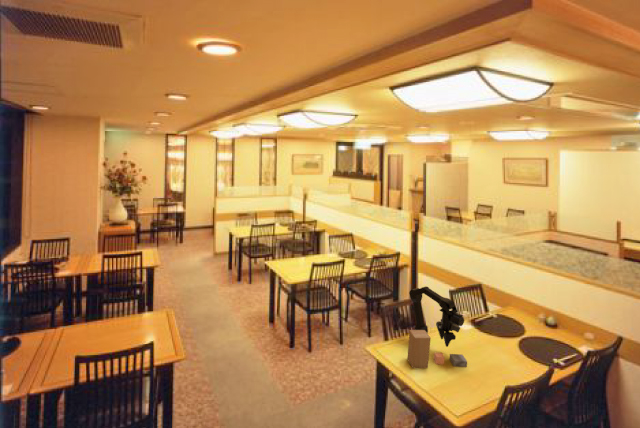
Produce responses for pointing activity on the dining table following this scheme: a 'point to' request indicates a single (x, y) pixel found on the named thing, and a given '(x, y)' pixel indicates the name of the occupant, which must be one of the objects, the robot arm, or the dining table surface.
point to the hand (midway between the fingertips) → (444, 342)
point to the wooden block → (418, 348)
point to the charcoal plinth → (458, 360)
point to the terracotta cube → (439, 358)
